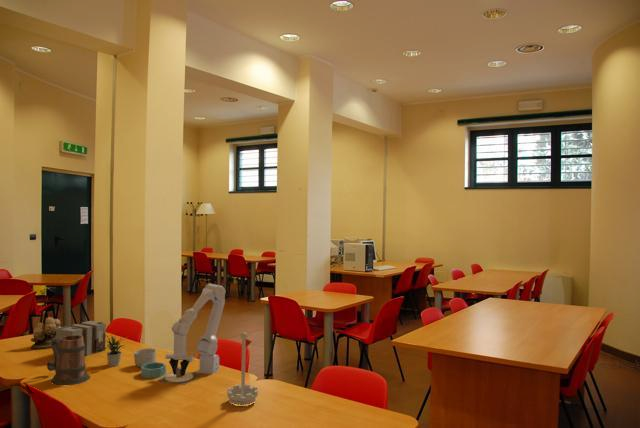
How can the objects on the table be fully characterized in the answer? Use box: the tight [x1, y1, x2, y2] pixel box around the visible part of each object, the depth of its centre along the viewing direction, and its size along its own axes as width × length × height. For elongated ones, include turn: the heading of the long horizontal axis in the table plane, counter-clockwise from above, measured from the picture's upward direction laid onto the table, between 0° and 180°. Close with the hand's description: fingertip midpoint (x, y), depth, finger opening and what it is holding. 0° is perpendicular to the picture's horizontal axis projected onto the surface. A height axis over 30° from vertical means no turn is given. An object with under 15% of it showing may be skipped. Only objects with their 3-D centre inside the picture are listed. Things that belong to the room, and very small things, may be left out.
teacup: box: [133, 347, 157, 369], centre depth 257 cm, size 14×11×8 cm
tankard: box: [46, 335, 91, 386], centre depth 234 cm, size 24×17×20 cm
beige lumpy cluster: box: [30, 316, 62, 351], centre depth 287 cm, size 18×12×17 cm, turn 145°
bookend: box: [56, 320, 107, 357], centre depth 274 cm, size 16×25×16 cm, turn 156°
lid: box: [164, 366, 193, 382], centre depth 238 cm, size 13×13×5 cm
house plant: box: [99, 334, 128, 367], centre depth 256 cm, size 14×14×16 cm
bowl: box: [140, 361, 167, 379], centre depth 242 cm, size 11×11×4 cm
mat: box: [156, 371, 201, 386], centre depth 238 cm, size 15×15×1 cm
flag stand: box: [226, 331, 259, 405], centre depth 212 cm, size 13×13×30 cm
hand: (179, 374), depth 238 cm, fingers open, 4 cm apart
